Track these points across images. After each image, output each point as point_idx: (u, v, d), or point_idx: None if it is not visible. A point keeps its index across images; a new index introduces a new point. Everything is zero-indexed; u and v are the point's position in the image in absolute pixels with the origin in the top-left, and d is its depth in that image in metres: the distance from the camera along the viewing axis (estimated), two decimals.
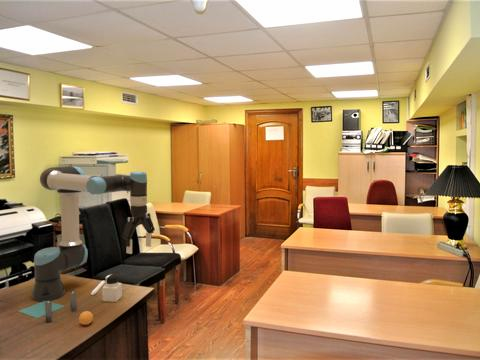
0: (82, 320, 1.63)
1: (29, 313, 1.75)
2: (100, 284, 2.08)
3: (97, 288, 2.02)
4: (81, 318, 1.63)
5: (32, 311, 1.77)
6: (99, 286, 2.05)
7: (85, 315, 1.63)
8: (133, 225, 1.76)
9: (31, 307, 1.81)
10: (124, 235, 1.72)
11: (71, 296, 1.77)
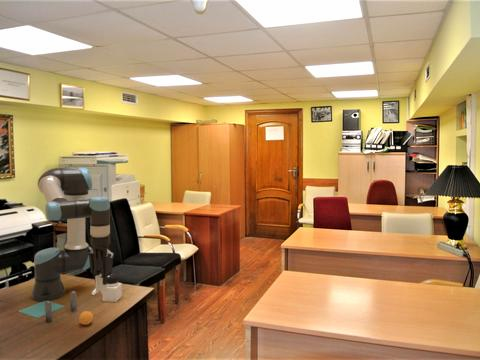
0: (82, 320, 1.63)
1: (29, 313, 1.75)
2: None
3: None
4: (81, 318, 1.63)
5: (32, 311, 1.77)
6: None
7: (85, 315, 1.63)
8: (105, 259, 1.58)
9: (31, 307, 1.81)
10: (109, 273, 1.57)
11: (71, 296, 1.77)
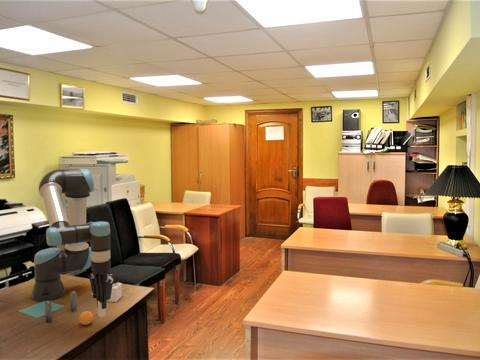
0: (82, 320, 1.63)
1: (29, 313, 1.75)
2: None
3: None
4: (81, 318, 1.63)
5: (32, 311, 1.77)
6: None
7: (85, 315, 1.63)
8: (105, 284, 1.59)
9: (31, 307, 1.81)
10: (108, 297, 1.58)
11: (71, 296, 1.77)
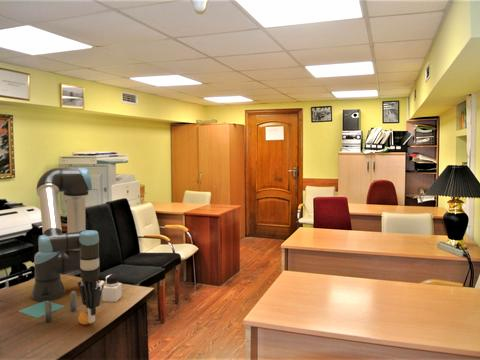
0: (81, 320, 1.63)
1: (29, 313, 1.75)
2: (100, 284, 2.08)
3: None
4: (79, 318, 1.63)
5: (32, 311, 1.77)
6: None
7: (83, 314, 1.64)
8: (94, 291, 1.63)
9: (31, 307, 1.81)
10: (97, 304, 1.62)
11: (71, 296, 1.77)
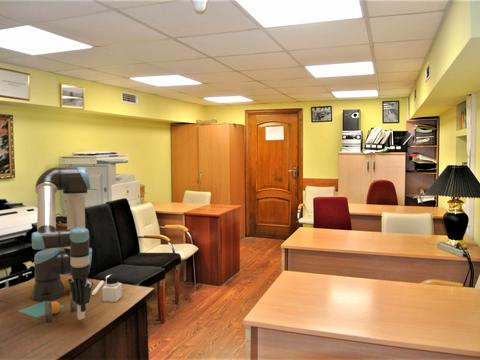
0: None
1: (29, 313, 1.75)
2: (100, 284, 2.08)
3: (97, 288, 2.02)
4: None
5: (32, 311, 1.77)
6: (99, 286, 2.05)
7: None
8: (84, 288, 1.65)
9: (31, 307, 1.81)
10: (86, 301, 1.64)
11: (71, 296, 1.77)
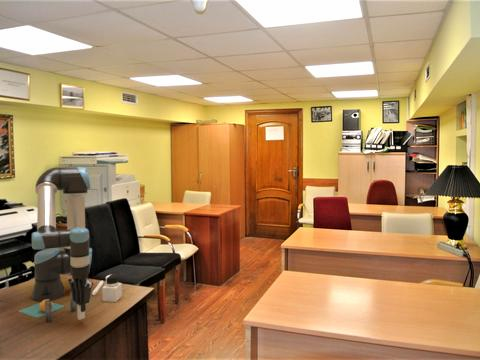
0: (40, 306, 1.75)
1: (29, 313, 1.75)
2: (99, 284, 2.08)
3: (97, 288, 2.02)
4: (40, 308, 1.75)
5: (32, 311, 1.77)
6: (99, 286, 2.05)
7: None
8: (84, 288, 1.65)
9: (31, 307, 1.81)
10: (86, 301, 1.64)
11: (71, 296, 1.77)
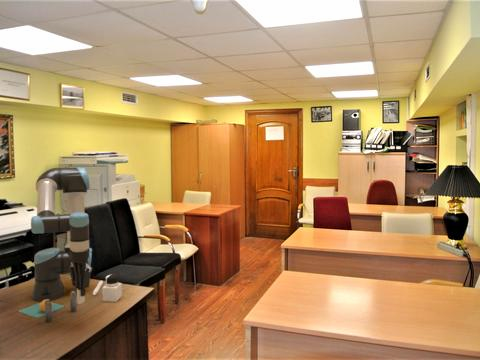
0: (40, 306, 1.75)
1: (29, 313, 1.75)
2: (99, 284, 2.08)
3: (98, 288, 2.02)
4: (40, 308, 1.75)
5: (32, 311, 1.77)
6: (99, 286, 2.05)
7: None
8: (83, 273, 1.65)
9: (31, 307, 1.81)
10: (86, 285, 1.64)
11: (71, 296, 1.77)
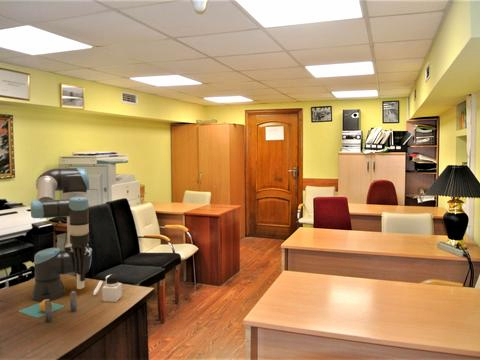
0: (40, 306, 1.75)
1: (29, 313, 1.75)
2: (99, 284, 2.08)
3: (98, 288, 2.02)
4: (40, 308, 1.75)
5: (32, 311, 1.77)
6: (99, 286, 2.05)
7: None
8: (83, 257, 1.64)
9: (31, 307, 1.81)
10: (86, 270, 1.63)
11: (71, 296, 1.77)
